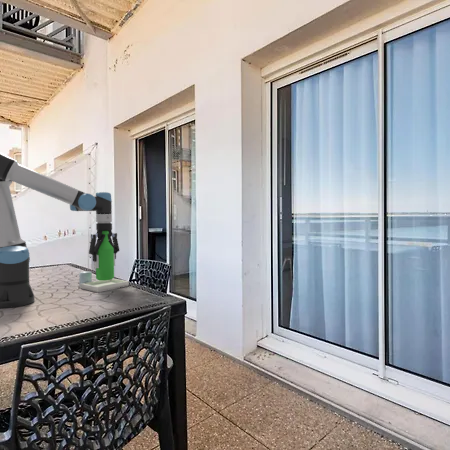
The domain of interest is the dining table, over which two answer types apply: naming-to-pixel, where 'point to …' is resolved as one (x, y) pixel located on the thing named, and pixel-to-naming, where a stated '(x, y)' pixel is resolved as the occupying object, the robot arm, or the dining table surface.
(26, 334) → the dining table surface
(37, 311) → the dining table surface
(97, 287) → the tray
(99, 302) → the dining table surface
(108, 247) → the bottle
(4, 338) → the dining table surface
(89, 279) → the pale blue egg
